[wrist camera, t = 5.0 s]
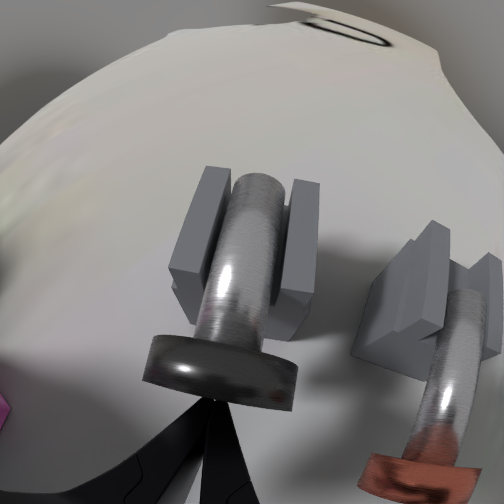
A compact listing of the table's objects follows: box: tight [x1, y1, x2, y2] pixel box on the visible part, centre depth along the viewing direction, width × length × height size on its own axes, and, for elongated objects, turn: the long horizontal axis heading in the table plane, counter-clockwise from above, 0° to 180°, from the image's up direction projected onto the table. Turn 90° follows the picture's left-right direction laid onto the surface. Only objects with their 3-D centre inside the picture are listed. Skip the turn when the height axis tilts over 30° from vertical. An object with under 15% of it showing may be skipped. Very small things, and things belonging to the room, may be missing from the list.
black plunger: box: [142, 173, 298, 412], centre depth 11 cm, size 9×5×5 cm, turn 170°
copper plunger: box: [357, 289, 486, 504], centre depth 8 cm, size 9×5×5 cm, turn 155°
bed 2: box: [351, 220, 503, 381], centre depth 14 cm, size 6×6×8 cm
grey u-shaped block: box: [168, 166, 320, 342], centre depth 15 cm, size 6×6×8 cm
